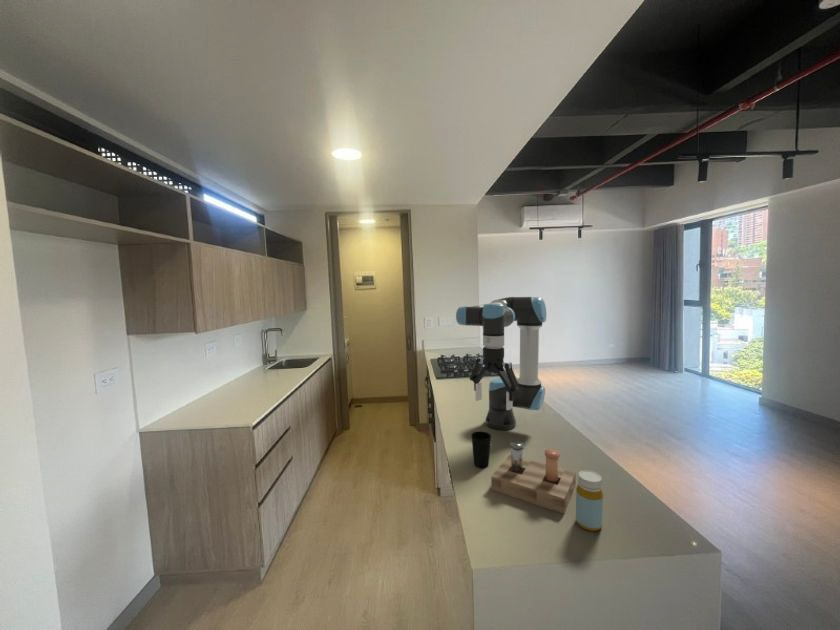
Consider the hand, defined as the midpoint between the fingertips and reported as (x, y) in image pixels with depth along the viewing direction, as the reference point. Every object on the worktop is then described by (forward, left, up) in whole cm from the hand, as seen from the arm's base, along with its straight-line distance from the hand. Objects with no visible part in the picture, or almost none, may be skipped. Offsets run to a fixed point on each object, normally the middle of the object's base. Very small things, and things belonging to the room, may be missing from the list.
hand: (493, 404), depth 128 cm
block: (-1, +15, -28) cm, 31 cm away
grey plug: (-1, +9, -22) cm, 24 cm away
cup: (-6, -7, -28) cm, 29 cm away
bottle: (+9, +34, -28) cm, 45 cm away
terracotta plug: (-1, +21, -22) cm, 30 cm away
